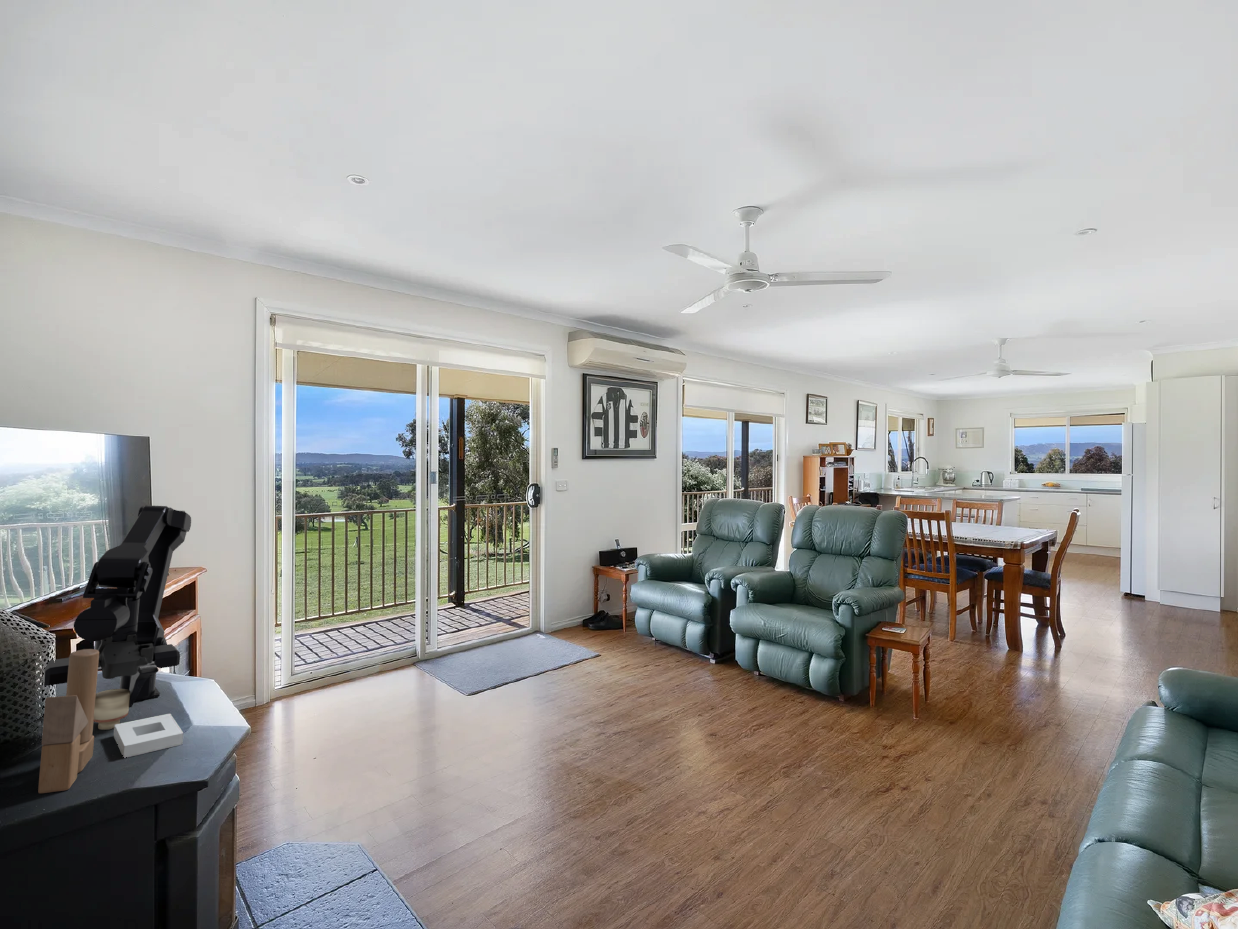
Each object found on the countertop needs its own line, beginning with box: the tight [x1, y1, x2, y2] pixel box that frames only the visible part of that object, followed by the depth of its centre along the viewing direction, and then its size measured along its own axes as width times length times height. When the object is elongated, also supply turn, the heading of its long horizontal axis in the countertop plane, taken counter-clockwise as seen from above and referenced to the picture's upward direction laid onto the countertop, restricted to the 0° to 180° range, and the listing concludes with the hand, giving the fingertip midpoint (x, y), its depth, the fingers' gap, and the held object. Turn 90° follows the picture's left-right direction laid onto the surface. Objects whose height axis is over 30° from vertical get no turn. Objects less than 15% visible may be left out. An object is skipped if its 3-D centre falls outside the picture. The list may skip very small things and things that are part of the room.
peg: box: [93, 688, 130, 731], centre depth 109 cm, size 5×5×6 cm
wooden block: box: [37, 648, 99, 794], centre depth 93 cm, size 4×11×18 cm, turn 27°
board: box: [113, 713, 184, 759], centre depth 105 cm, size 10×8×2 cm
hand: (110, 710), depth 109 cm, fingers closed on peg, 5 cm apart
